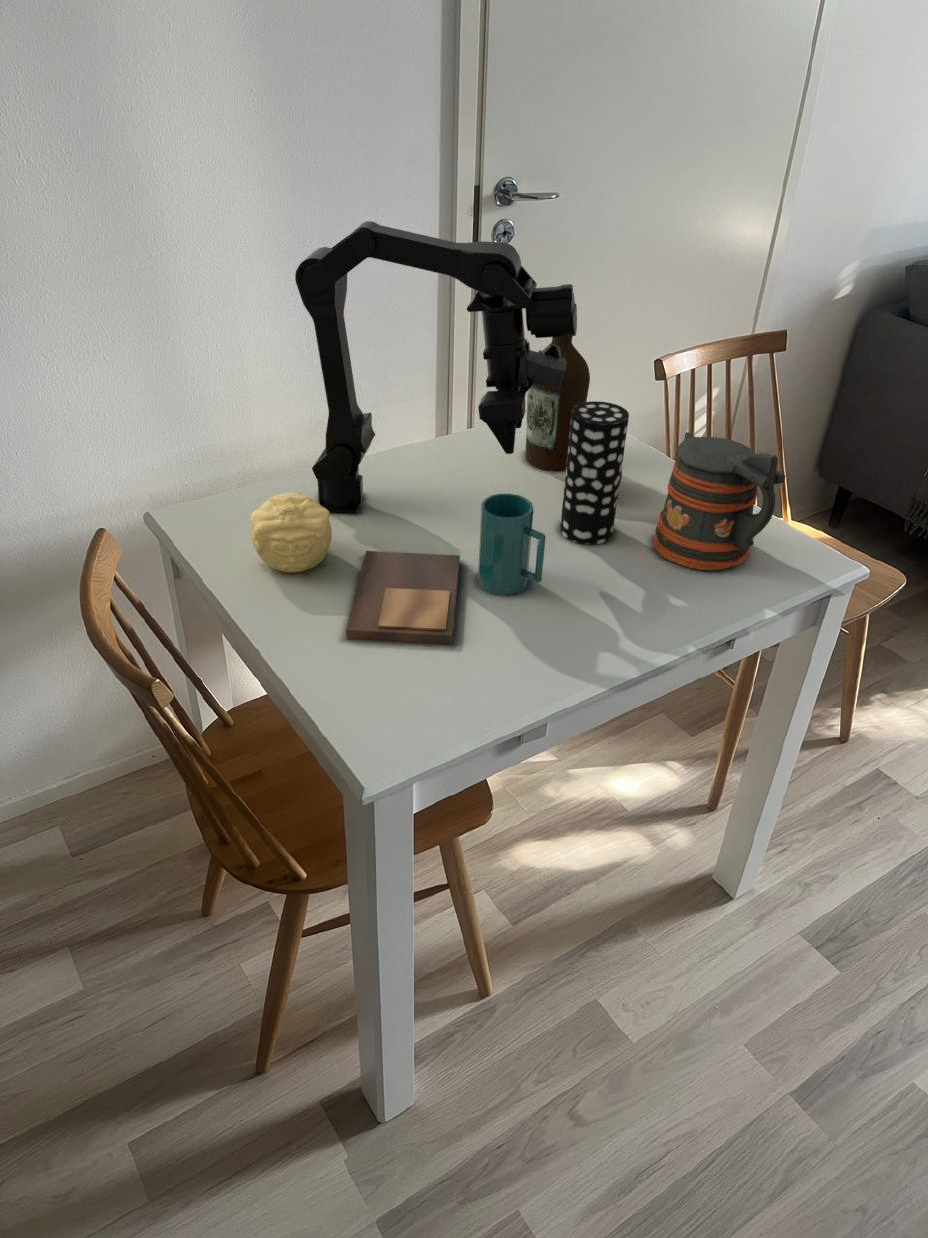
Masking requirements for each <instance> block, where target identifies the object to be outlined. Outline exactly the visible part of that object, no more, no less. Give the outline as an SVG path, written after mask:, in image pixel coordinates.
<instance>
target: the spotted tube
mask: <svg viewBox="0 0 928 1238" xmlns="http://www.w3.org/2000/svg"><path fill="white" fill-rule="evenodd" d="M629 418H630V413H629V411H628V410H627V409H626V408H624V407H623V406H621V405H619V404H616V403H612V402H607V401H597V400H594V401H593V400H592V401H586V402H584V403H580V404H578V405H576V406H574V408H573V409H572V416H571V426H570V436H569V446H568V456H567V466H566V469H565V476H564V485H563V486H564V487H563V496H562V506H561V516H560V526H559V531H560V533H561V535H562V536H563V537H564V538H566V539H567V540H569V541H571V542H573V543H577V544H581V545H599V544H603V543H606V542H608V541H609V540H610V539H612V537H613V534H614V528H615V527H614V526H615V521H616V512H617V505H618V497H619V491H620V485H621V483H620V477H621V470H622V471H623V463H624V454H625V447H626V442H627V441H626V440H627V434H628V433H627V432H628V425H629ZM619 484H620V485H619Z"/></svg>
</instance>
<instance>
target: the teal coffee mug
mask: <svg viewBox="0 0 928 1238" xmlns="http://www.w3.org/2000/svg"><path fill="white" fill-rule="evenodd" d="M533 518H534V505H533V502H532V501H531V500H529V499H528V498H526V497H524V496H522V495H519V494H513V493H496V494H492V495H489V496H487V497H485V498H484V499H483V500H482V502H481V505H480V527H479V545H478V546H479V547H478V551H479V552H478V567H477V568H478V569H477V573H478V574H477V578H478V579H477V580H478V581H477V582H478V585H479V586H480V588H482V589H483V591H486V592H488V593H490V594H493V595H499V596H510V595H515V594H518V593H520V592H522V591H524V589H525V588H526V587H527V584H528V580H530V581H532V582H534V583H537V584H539V583H541V582H542V581H543V571H544V558H545V548H546V535H545V533H542V532H540V531H538V530H536V529H533ZM532 538H533V539H536V540H537V546H536V557H535V558H536V559H535V570H534V571H535V572H532V571H530V570H529V569H530V557H531V545H532V544H531V543H532Z"/></svg>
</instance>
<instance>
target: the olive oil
mask: <svg viewBox="0 0 928 1238" xmlns="http://www.w3.org/2000/svg"><path fill="white" fill-rule="evenodd" d="M573 337H574V336H564V337H551V342H550V343H549V344H548V345H547V346H546V347H544V348H543V350H541V351H542V352H543V351H544V350H545V349H546V348H547V347H548V346H549V345H550V344H553V345H557V346H559V347H560V352H561V358H563V357H564V358H565V360H566V361H567V365H566V369H565V373H564V376H563V379H562V382H561V385H560V388H559V390H558V391H553V390H550V389H549V388H548V387H544V386H541V385H538V384H533V385H532V387H531V388H530V389H529V390H528V391H527V392H526V432H525V433H526V434H525V454H524V455H525V460H526V461H527V462H528V463H529V465H531V466H533V467H535V468H539V469H540V470H541V469H542V470H546V471H562V470H566V466H567V456H568V446H569V436H570V426H571V416H572V409H573V408H574V406H576V405H578V404H580V403H584V402H588V401H587V400H588V395H589V394H588V393H589V389H590V382H591V373H590V369H589V364H588V363H587V361H586V359H585V358H584V357H583V355H582V354H581V353H580V352H579V350H578V349H577V348H576V347H575V346H574V344H573ZM542 352H541V353H542Z"/></svg>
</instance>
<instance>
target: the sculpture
mask: <svg viewBox="0 0 928 1238" xmlns="http://www.w3.org/2000/svg"><path fill="white" fill-rule="evenodd" d="M330 513H331V512H329V511H328V510H327V509H325V508H324V507H322V506H321V505H320V504H319V501H317V500H316V499H314V498H313V497H310V496H308V495H306V494H302V493H297V492H286V493H285V492H284V493H281V494H277V495H274V496H272V497H270V498H268V499H267V500H266V501H264V502H263V503H262V504H261V505H260V507H258V509H256V510H254V511H253V512H251V514H250V515H249V519H250V524H251V532H250V533H251V542H252V545H253V547H254V549H255V551H256V553H257V555H258V557H259V558H260V559H261V560H262V562H263V563H265V564H266V565H267V566H268V567H270V568H271V569H273V570H276V571H279V572H282V573H302V572H305V571H309V570H311V569H313V568H315V567H316V566H318V565H319V564H320V563H321V562H322V561H323V560H324V558H325V557H326V556H327V554H328V552H329V550H330V547H331V543H332V536H333V530H332V529H333V528H332V524H331V521H330V515H331V514H330Z"/></svg>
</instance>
